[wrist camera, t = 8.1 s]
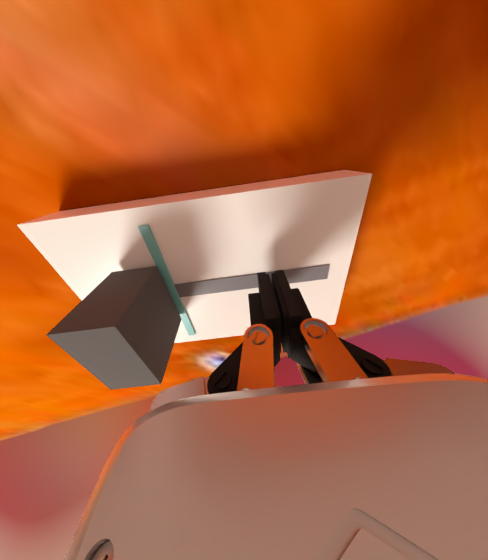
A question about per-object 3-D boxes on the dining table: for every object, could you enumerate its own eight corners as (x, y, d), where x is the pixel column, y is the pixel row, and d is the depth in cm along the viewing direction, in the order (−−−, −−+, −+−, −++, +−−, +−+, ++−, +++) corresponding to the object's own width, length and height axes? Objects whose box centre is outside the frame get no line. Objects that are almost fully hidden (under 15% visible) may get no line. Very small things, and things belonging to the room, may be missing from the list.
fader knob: (156, 266, 12) (114, 326, 8) (181, 319, 14) (161, 384, 10) (111, 272, 12) (46, 334, 8) (145, 323, 15) (110, 389, 10)
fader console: (344, 169, 12) (374, 173, 9) (321, 302, 19) (335, 325, 16) (58, 211, 13) (13, 225, 10) (137, 324, 20) (122, 350, 17)
